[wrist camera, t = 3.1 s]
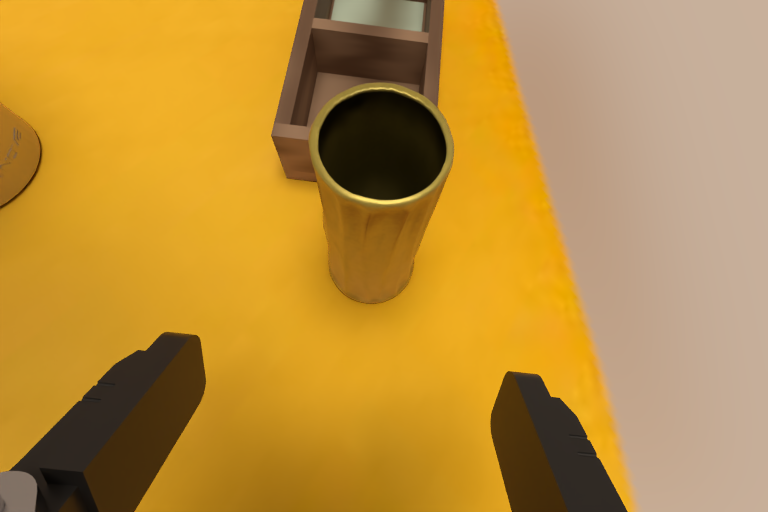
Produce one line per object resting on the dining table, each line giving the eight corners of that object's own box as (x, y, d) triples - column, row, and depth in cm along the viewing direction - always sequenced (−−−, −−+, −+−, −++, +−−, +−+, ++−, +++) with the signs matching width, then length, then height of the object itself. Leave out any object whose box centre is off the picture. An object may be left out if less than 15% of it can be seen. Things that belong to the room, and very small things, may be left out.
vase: (384, 209, 28) (406, 50, 14) (429, 275, 26) (502, 167, 13) (313, 248, 26) (263, 113, 13) (357, 320, 25) (352, 253, 11)
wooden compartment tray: (286, 178, 28) (271, 135, 23) (326, -5, 34) (320, -69, 29) (421, 194, 28) (434, 155, 23) (435, 9, 35) (447, -52, 30)
